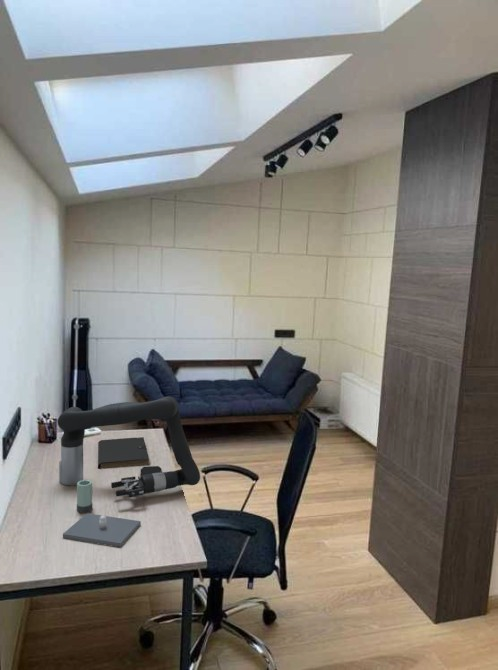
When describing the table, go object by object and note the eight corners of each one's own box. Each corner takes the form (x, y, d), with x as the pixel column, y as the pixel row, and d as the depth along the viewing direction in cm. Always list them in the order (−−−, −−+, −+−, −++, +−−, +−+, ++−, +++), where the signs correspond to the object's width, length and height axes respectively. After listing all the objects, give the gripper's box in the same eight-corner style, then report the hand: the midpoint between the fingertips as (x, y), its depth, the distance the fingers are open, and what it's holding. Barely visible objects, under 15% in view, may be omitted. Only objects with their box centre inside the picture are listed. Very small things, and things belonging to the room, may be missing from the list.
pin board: (62, 537, 176) (62, 522, 175) (87, 516, 191) (87, 502, 191) (120, 547, 171) (120, 531, 171) (140, 525, 187) (140, 509, 186)
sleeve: (74, 511, 195) (74, 484, 194) (82, 505, 200) (81, 479, 199) (87, 513, 194) (87, 486, 193) (94, 507, 199) (94, 481, 198)
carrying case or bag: (138, 471, 237) (137, 484, 223) (138, 465, 237) (137, 478, 222) (161, 470, 239) (162, 483, 225) (161, 464, 239) (162, 477, 224)
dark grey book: (149, 458, 244) (97, 462, 237) (149, 466, 245) (98, 470, 238) (143, 436, 276) (98, 439, 269) (143, 443, 276) (98, 447, 269)
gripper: (148, 468, 215) (109, 474, 207) (158, 480, 202) (117, 487, 195) (148, 484, 216) (110, 491, 208) (158, 498, 203) (117, 505, 196)
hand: (113, 489), depth 202 cm, fingers open, 8 cm apart
